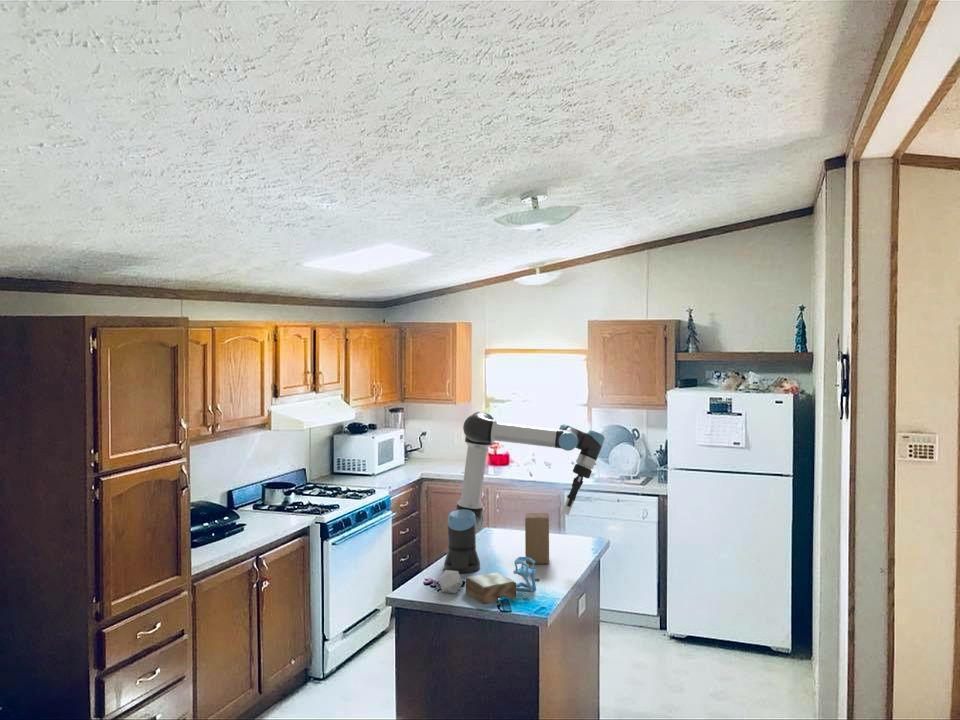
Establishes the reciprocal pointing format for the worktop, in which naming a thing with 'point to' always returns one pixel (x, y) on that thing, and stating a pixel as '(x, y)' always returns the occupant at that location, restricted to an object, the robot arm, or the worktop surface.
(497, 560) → the worktop surface
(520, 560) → the chair
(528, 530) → the block
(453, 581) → the die
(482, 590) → the base block
